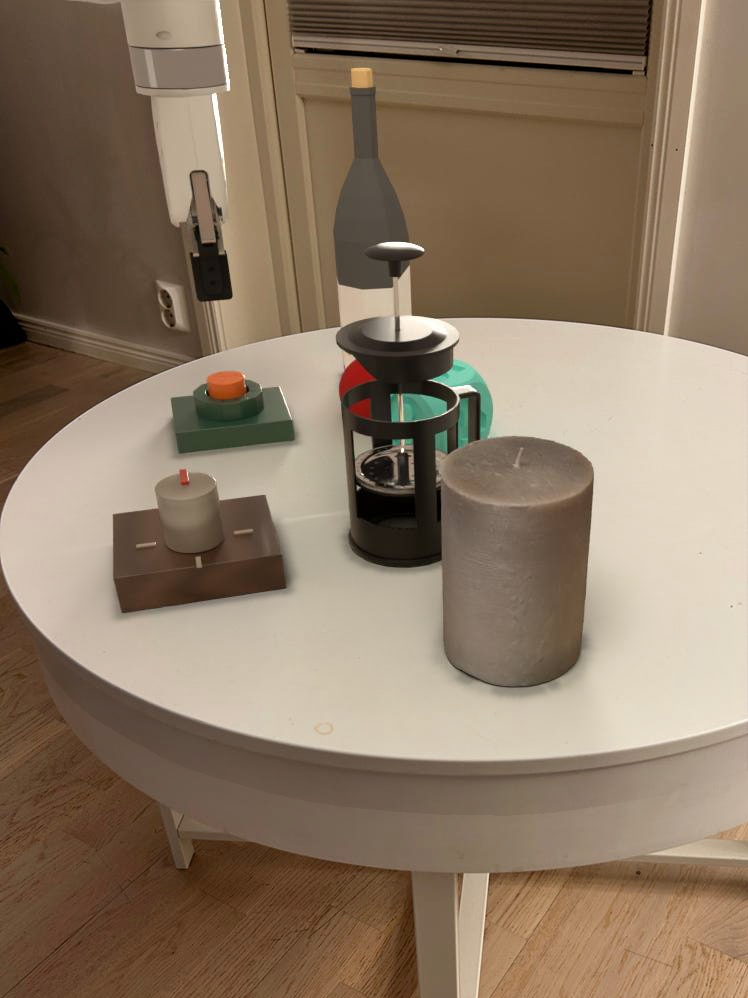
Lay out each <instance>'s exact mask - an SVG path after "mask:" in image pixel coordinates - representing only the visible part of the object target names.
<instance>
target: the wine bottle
mask: <svg viewBox="0 0 748 998" xmlns="http://www.w3.org/2000/svg"><path fill="white" fill-rule="evenodd" d="M373 76H374V75H373V69H372V68H371V67H353V68H351V69H350V77H351V85H349V86H348V89H349V90H348V91H349V95H350V105H351V108H350V109H351V119H352V120H351V121H352V123H351V124H352V139H353V152H354V153H353V154H354V157H353V159H352V161H351V165H350V167H349V170H348V173H347V175H346V177H345V180H344V181H343V184H342V187H341V189H340V192H339V197H338V199H337V204H336V207H335V208H336V209H335V215H334V224H333V231H332V232H333V235H332V236H333V247H334V259H335V269H336V270H335V271H336V285H337V298H338V310H339V311H338V312H339V325H340V329H341V328H342V327H344V326H346V325H348V324H350V323H353V322H356V321H359V320H363V319H368V318H373V317H381V316H395V314H394V290H393V277H390V276H389V271H388V261H380V260H374V259H371V258H368V257H366V256H365V255H364V251H365V249H367V248H368V247H370V246H373V245H376V244H381V243H389V242H401V243H409V244H410V235H409V231H408V226H407V222H406V218H405V214H404V211H403V208H402V205H401V203H400V199H399V196H398V194H397V191H396V190H395V188H394V186H393V184H392V182H391V180H390V178H389V176H388V174H387V172H386V170H385V169H384V166H383V164H382V161H381V160H380V157H379V142H378V140H379V139H378V123H377V103H376V101H377V100H376V94H377V86H376V85H374V79H373V78H374V77H373ZM398 295H399V315H402V316H413V313H412V287H411V260H407V261H402V276H400V277H398ZM341 350H342V349H341ZM355 359H356V358H355V357H354V356H353V355H349V354H348V353H346V352H345V351H344V350H342V361H343V369H344V371H345V369H346V368H347V367H348V365H349V364H350V363H351V362H353V361H354V360H355Z"/></svg>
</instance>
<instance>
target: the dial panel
mask: <svg viewBox="0 0 748 998" xmlns="http://www.w3.org/2000/svg"><path fill="white" fill-rule="evenodd" d="M219 502H220V508H221V514H222V520H223V526H224V532H225V538H224V540H223V541H222V543H221V544H219V545H218V546H216V547H215V548H213V549H210V550H207V551H204V552H199V553H180V552H176V551H173V550H171V549H170V548H168V547H167V545H166V543H165V538H164V533H163V528H162V524H161V519H160V514H159V509H158V507H156V508H148V509H142V510H133V511H127V512H119V513H117V512H116V513H112V568H113V569H112V577H113V583H114V587H115V591H116V596H117V600H118V603H119V608H120V612H121V613H129V612H134V611H135V612H136V611H142V610H143V611H144V610H149V609H155V608H162V607H168V606H174V605H175V606H176V605H183V604H188V603H189V604H190V603H195V602H201V601H208V600H215V599H223V598H229V597H234V596H242V595H247V594H255V593H261V592H268V591H275V590H282V589H286V588H287V582H286V575H285V566H284V558H283V553H282V548H281V545H280V541H279V538H278V535H277V531H276V527H275V524H274V523H275V522H274V520H273V516H272V512H271V508H270V505H269V502H268V498H267V495H266V494H258V495H251V496H243V497H236V498H234V497H233V498H227V499H219Z"/></svg>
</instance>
